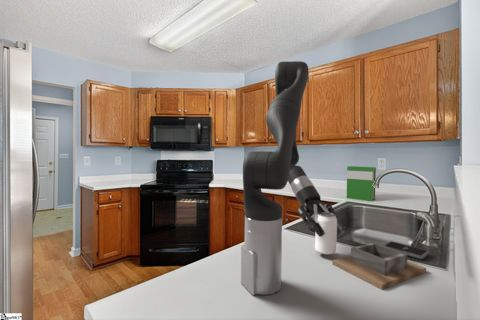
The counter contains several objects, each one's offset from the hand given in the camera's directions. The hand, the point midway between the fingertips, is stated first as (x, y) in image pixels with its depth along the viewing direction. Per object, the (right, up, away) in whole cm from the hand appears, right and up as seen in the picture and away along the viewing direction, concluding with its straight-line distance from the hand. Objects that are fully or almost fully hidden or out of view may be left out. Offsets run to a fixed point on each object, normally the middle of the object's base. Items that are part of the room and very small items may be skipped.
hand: (329, 233), depth 77 cm
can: (-1, -6, +2) cm, 7 cm away
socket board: (+11, -8, -7) cm, 15 cm away
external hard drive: (+27, -8, +5) cm, 29 cm away
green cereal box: (+61, -6, +104) cm, 121 cm away
